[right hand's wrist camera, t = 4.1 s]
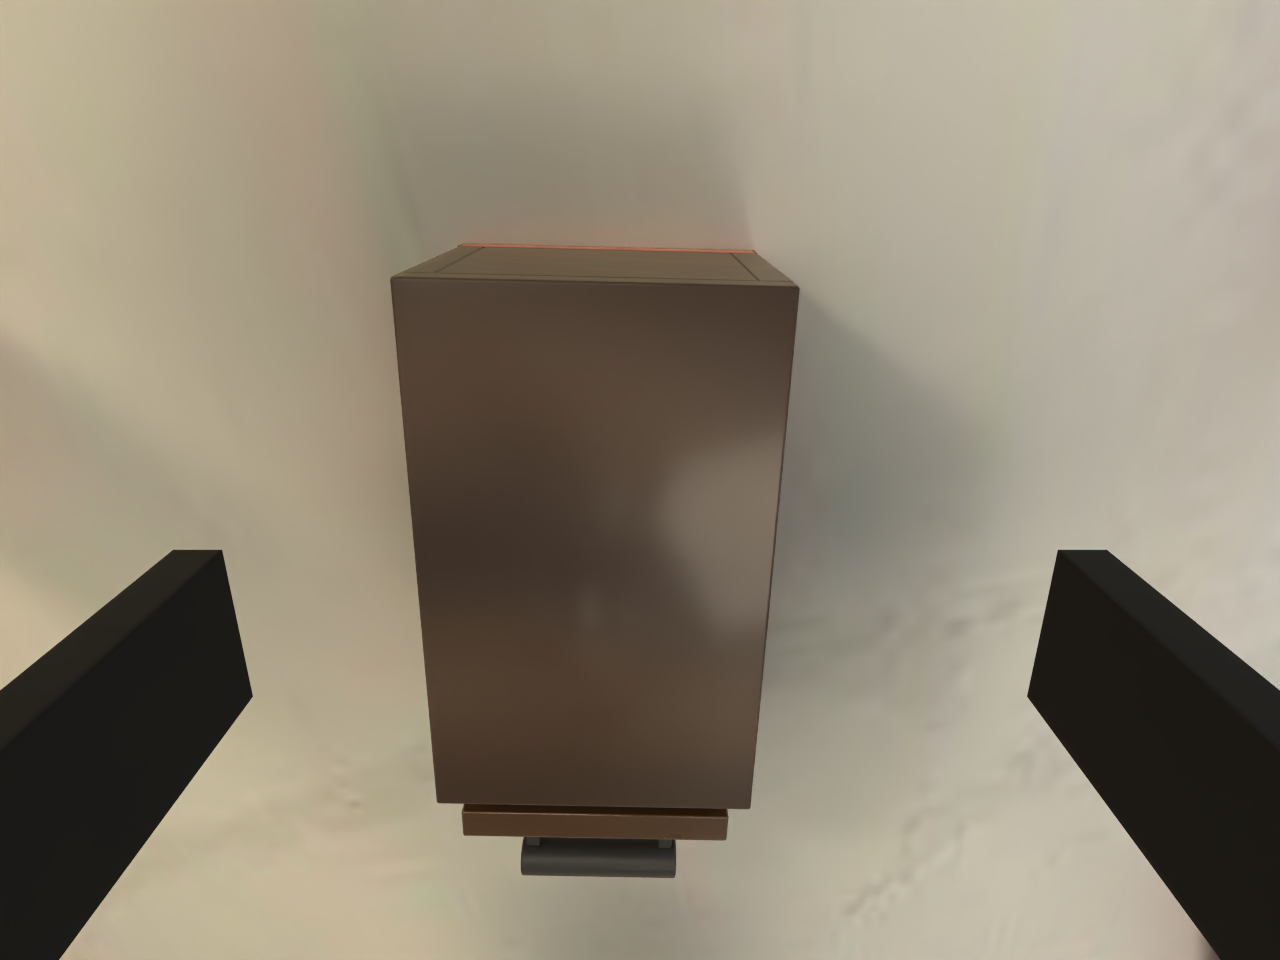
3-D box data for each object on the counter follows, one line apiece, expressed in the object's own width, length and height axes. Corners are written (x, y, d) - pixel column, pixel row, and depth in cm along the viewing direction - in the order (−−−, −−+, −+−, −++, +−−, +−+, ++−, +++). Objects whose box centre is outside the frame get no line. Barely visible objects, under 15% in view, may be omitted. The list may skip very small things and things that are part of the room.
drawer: (703, 805, 40) (717, 948, 33) (502, 802, 40) (471, 943, 33) (734, 352, 31) (762, 408, 24) (478, 346, 31) (430, 400, 24)
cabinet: (724, 655, 38) (750, 810, 29) (485, 650, 38) (436, 804, 29) (754, 250, 31) (800, 286, 22) (462, 243, 31) (388, 276, 22)
